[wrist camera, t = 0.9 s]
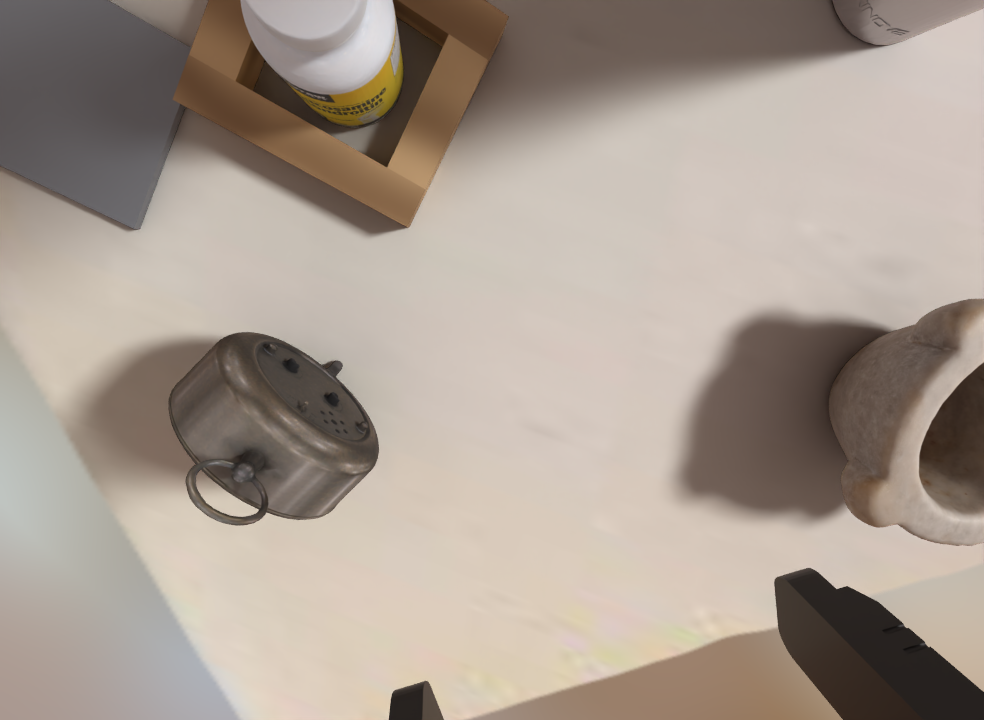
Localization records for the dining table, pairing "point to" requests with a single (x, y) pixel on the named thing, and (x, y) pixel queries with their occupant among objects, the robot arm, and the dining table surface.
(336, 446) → the alarm clock
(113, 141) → the slate coaster
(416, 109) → the wooden square frame
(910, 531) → the mortar
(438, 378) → the dining table surface
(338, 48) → the pill bottle
